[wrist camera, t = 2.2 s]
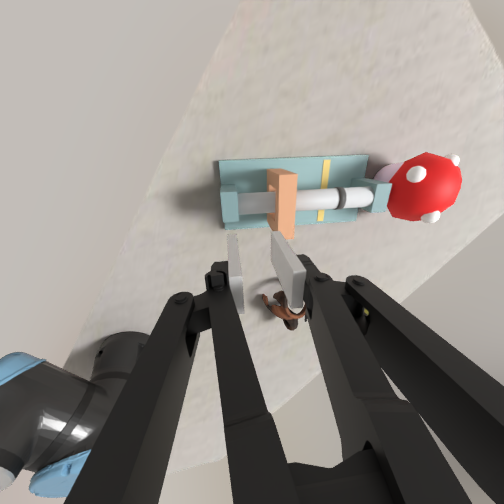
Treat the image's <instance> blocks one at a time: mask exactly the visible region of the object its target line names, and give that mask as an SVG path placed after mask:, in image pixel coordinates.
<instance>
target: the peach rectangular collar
mask: <svg viewBox="0 0 504 504" xmlns="http://www.w3.org/2000/svg"><path fill="white" fill-rule="evenodd" d="M297 179H298V174H296V173H293V172H290V171H287V170H284V169H281V168H279V169H267V192H275V191H276V196H275V213H267V222H268V224H269V226H270V227H271V229H272V231H280V232H281V233H282V235H283V236H284V238H285V239H294V228H295V211H296V195H297Z"/></svg>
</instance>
